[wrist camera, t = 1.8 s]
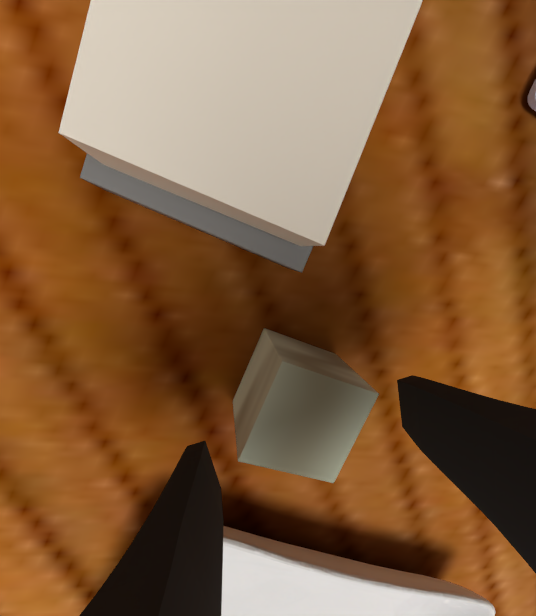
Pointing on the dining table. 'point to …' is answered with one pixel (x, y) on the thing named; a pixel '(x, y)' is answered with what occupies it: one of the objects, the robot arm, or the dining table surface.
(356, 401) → the sage cube
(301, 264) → the charcoal slab
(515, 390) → the dining table surface
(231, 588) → the salad plate
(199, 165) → the cream slab
